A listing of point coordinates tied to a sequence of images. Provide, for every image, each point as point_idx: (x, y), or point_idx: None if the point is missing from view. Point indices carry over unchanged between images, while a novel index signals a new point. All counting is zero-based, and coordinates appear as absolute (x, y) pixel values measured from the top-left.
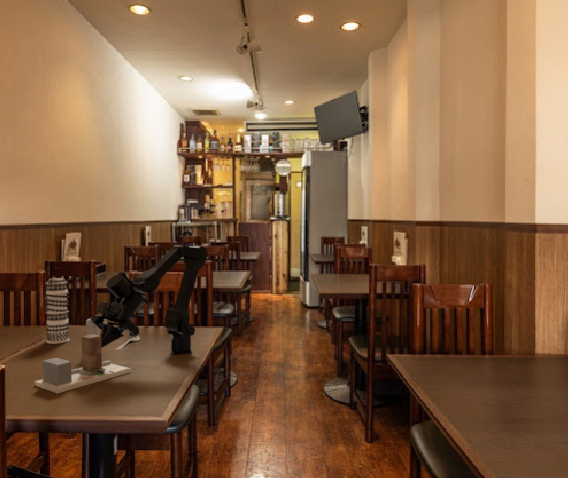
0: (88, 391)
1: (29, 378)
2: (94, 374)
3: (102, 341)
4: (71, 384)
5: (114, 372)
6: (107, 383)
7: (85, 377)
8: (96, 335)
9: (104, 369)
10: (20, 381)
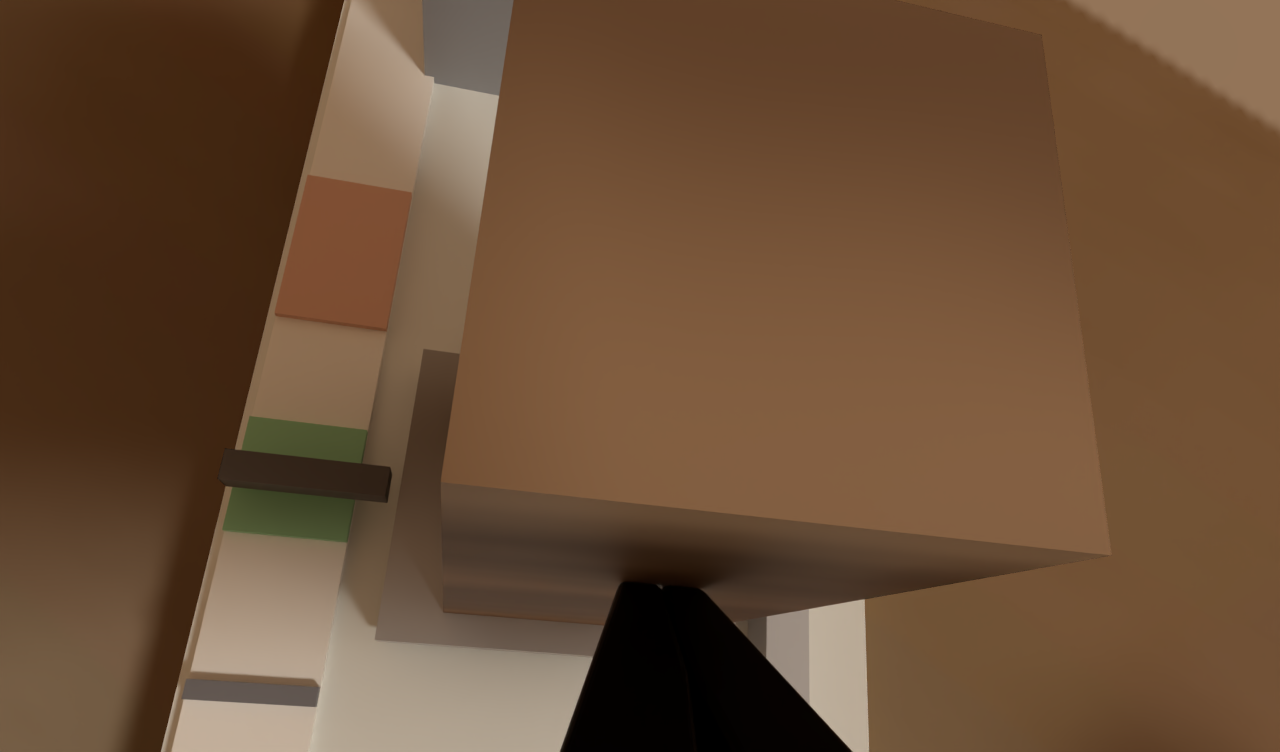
0: (62, 70)
1: (1093, 152)
2: None
3: (572, 715)
4: (349, 22)
5: (183, 715)
6: (49, 404)
7: (394, 253)
8: (769, 447)
9: (379, 625)
10: (1059, 62)
